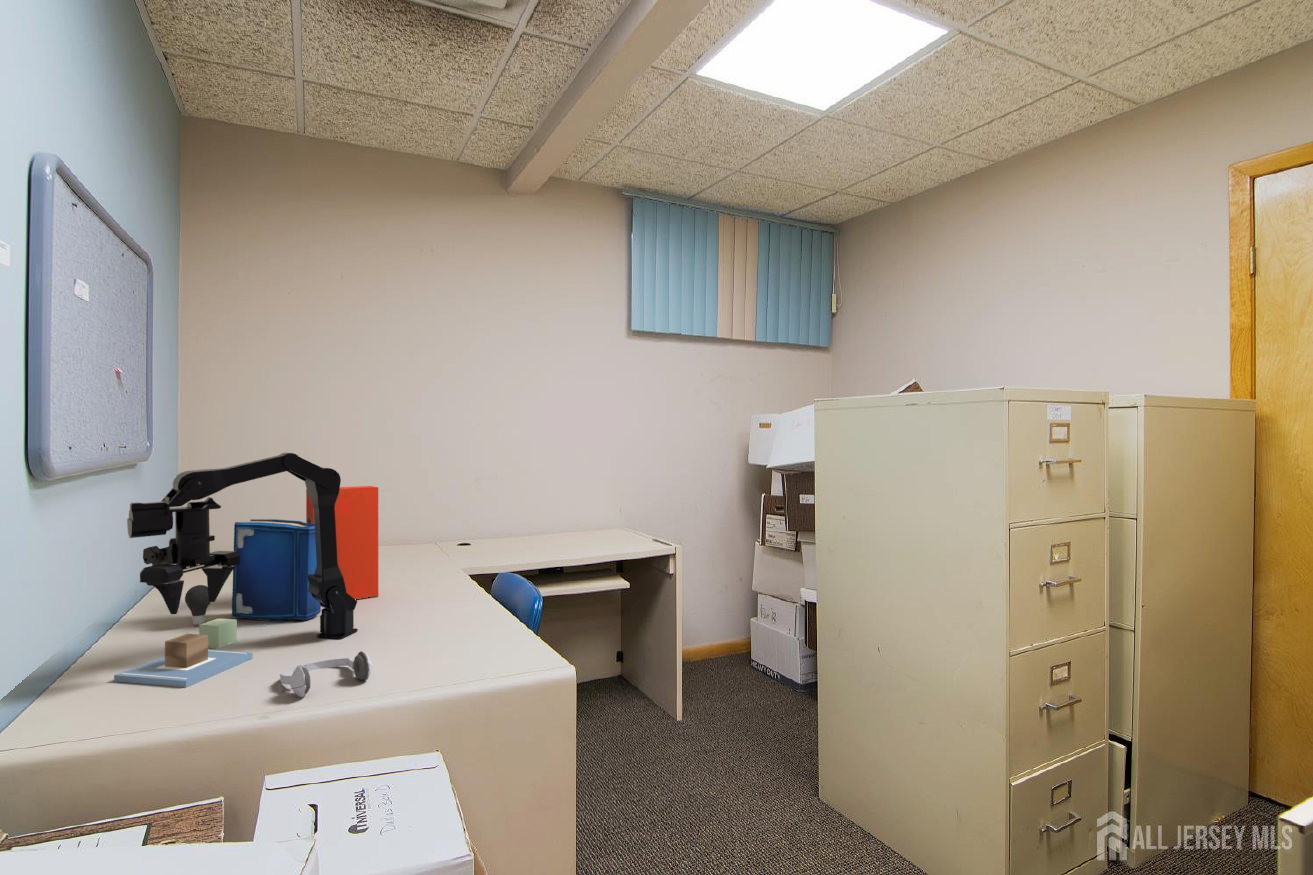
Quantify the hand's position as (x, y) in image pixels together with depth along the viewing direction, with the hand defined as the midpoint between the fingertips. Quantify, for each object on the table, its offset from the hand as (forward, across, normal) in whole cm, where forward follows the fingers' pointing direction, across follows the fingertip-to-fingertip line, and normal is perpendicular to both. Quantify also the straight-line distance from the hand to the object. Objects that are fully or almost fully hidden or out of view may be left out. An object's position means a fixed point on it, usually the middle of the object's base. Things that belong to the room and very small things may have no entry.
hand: (193, 607), depth 134 cm
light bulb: (+12, -24, -22) cm, 34 cm away
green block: (+12, -12, -6) cm, 18 cm away
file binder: (+12, -53, -3) cm, 55 cm away
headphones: (+12, +6, +32) cm, 35 cm away
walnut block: (+10, +3, +1) cm, 11 cm away
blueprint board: (+12, +3, +1) cm, 12 cm away
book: (+12, -34, -8) cm, 36 cm away
